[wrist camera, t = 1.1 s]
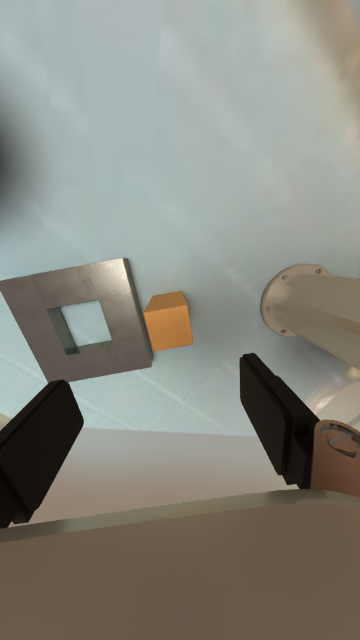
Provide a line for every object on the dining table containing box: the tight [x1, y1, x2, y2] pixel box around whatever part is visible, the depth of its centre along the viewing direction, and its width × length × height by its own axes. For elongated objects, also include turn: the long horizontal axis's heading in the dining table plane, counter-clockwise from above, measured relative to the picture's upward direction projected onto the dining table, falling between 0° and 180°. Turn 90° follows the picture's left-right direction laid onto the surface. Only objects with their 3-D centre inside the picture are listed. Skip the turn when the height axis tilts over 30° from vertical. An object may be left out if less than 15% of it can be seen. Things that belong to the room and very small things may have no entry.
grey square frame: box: [0, 258, 153, 383], centre depth 28 cm, size 18×18×3 cm
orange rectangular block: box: [144, 291, 194, 351], centre depth 25 cm, size 5×5×10 cm
